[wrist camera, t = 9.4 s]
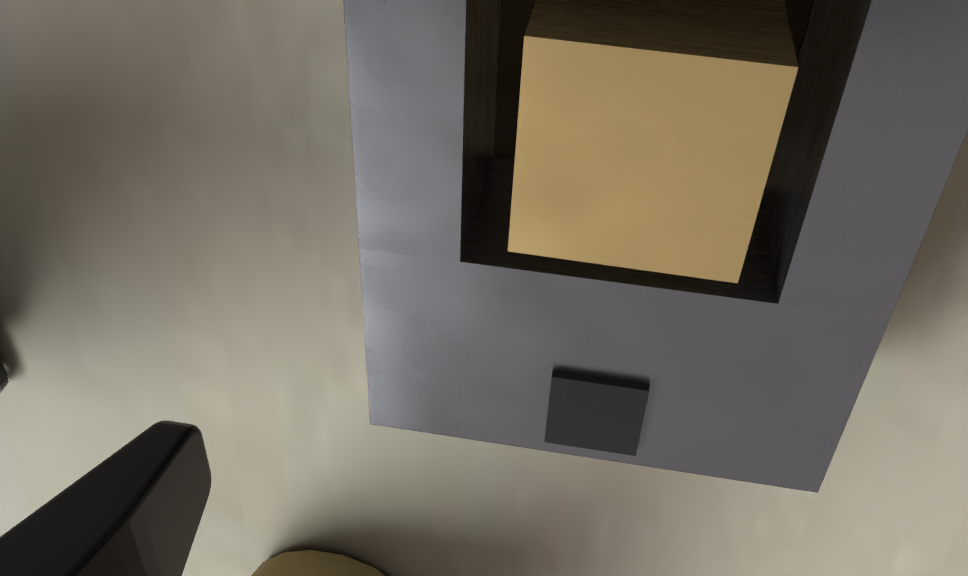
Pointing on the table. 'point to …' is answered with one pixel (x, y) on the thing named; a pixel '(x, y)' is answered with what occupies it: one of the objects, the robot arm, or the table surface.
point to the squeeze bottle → (314, 565)
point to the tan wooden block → (649, 131)
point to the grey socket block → (638, 293)
